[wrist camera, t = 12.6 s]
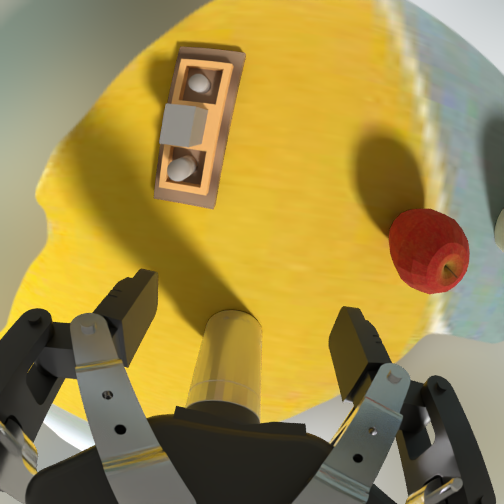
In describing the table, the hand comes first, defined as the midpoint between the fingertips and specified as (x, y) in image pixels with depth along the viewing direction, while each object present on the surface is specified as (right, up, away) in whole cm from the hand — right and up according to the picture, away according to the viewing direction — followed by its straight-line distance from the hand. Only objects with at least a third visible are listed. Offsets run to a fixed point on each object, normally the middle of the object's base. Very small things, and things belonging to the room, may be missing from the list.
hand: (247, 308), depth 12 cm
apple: (+22, +6, +25) cm, 34 cm away
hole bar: (-6, +17, +19) cm, 26 cm away
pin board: (-6, +18, +20) cm, 28 cm away
